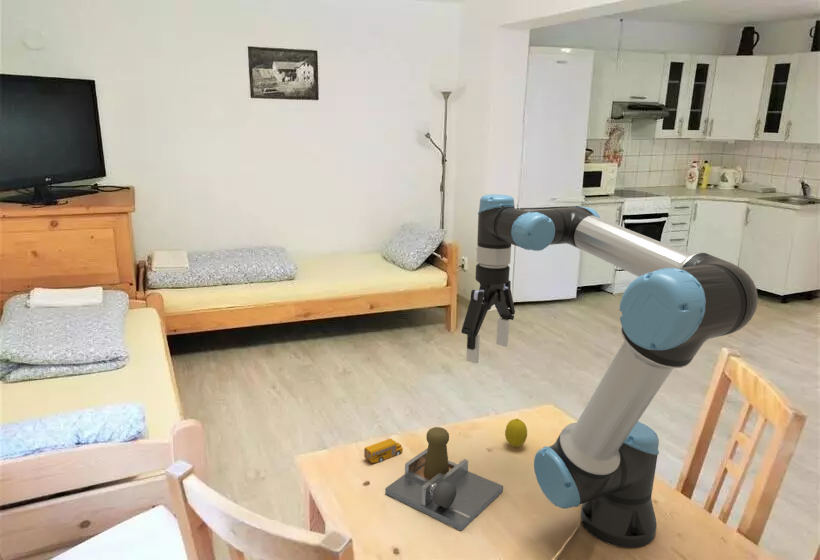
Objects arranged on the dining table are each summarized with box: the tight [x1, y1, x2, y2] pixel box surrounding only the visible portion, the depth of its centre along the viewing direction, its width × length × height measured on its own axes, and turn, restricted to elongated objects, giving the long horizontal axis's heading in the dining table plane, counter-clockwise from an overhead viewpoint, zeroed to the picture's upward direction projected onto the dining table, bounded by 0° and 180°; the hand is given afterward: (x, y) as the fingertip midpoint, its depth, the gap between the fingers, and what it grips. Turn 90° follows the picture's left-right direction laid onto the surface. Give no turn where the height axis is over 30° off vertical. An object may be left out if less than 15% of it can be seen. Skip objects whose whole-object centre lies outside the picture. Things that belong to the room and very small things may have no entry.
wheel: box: [434, 481, 456, 508], centre depth 129 cm, size 3×5×5 cm, turn 143°
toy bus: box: [363, 438, 404, 464], centre depth 150 cm, size 3×10×4 cm, turn 128°
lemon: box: [504, 418, 528, 448], centre depth 155 cm, size 6×6×8 cm
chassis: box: [384, 447, 504, 532], centre depth 135 cm, size 20×18×6 cm
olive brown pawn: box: [424, 426, 450, 479], centre depth 139 cm, size 6×6×11 cm
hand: (487, 353), depth 141 cm, fingers open, 13 cm apart
